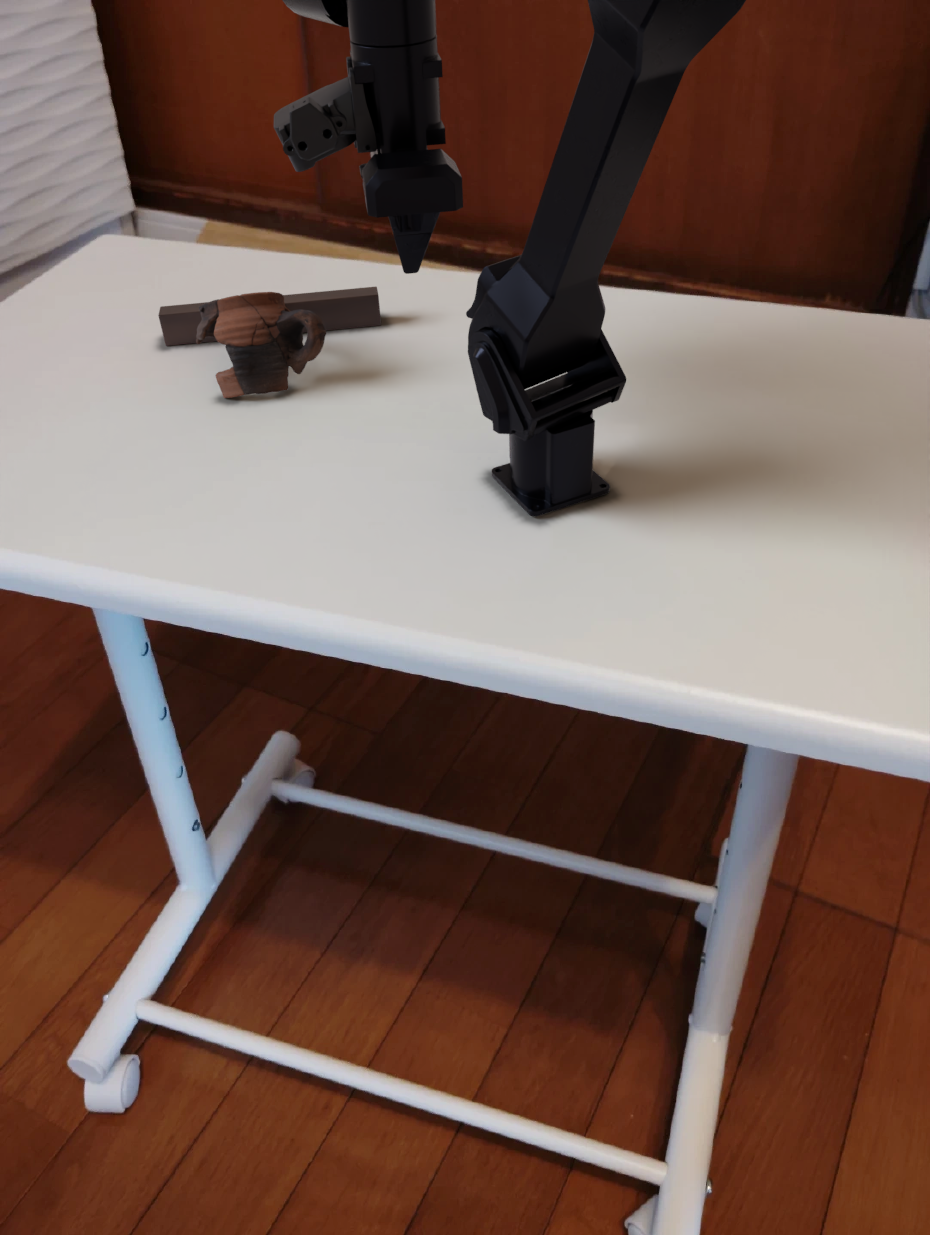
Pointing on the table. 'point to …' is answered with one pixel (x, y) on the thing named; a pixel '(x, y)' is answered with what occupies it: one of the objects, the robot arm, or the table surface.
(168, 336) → the rail
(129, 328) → the table surface
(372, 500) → the table surface
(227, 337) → the pottery mug
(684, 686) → the table surface
